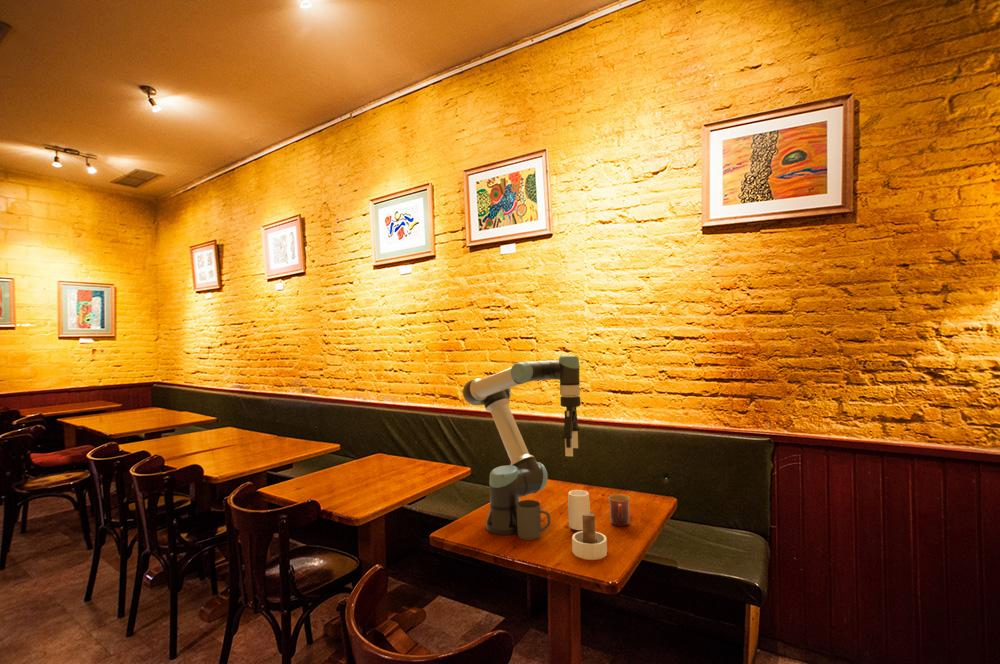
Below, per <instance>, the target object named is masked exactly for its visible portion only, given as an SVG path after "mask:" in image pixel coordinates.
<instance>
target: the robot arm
mask: <svg viewBox="0 0 1000 664" xmlns="http://www.w3.org/2000/svg"><path fill="white" fill-rule="evenodd" d="M558 359H559V360H549V359H543V360H537V361H520V362H515V363H514V364H513V365H512V366H511V367H508V368H507V369H503V370H502V371H498V372H497V373H496V372H495V373H494V374H490V375H488V376H486V377H484V378H475V379H472V380H469V381H467V382H466V383H465V385H464V386H463V388H462V396H463V399H464V400H465V401H466V403H468V404H470V405H472V406H484V408H485V410H486V412H488V413H490V414H491V416H492V419H493V421H494V423H495V427H496V429H497V432H498V434H499V436H500V438H501V441H502V444H503V446H504V449H505V451H506V453H507V456H508V458H509V460H510V464H507V465H500V466H497V467H495V468H493V469H492V470H491V471H490V472H489V480H488V481H489V482H488V484H489V505H490V506H489V507H490V508H489V510H488V515H487V518H486V523H485V524H486V525H485V526H486V530H487V531H488V532H489V533H492V534H493V535H501V536H502V535H503V536H505V535H507V536H508V535H514V534H518V531H517V503H518V502H520V498H522V497H526V496H529V495H531V494H536V493H538V492H540V491H542V490H543V489H545V487H546V485H547V484H548V483H547V481H548V471H547V469H546V467H545V465H544V464H543V463H541V462H540V461H539V462H538V461H537V460H536V457H535V456H534V455H532V454H530V452H529V450H528V447H527V445H526V443H525V441H524V438H523V436H522V433H521V432H520V430H519V427H518V425H517V422H516V420H515V417H514V415H513V413H512V410H511V408H510V406H509V404H510V401H511V400H510V398H511V395H512V393H511V392H512V391H511V388H514V387H517V386H519V385H520V386H521V385H522V384H527V383H530V382H537V381H548V380H558V381H559V395H560V398H559V399H560V400H559V401H560V406H561V407H563V408H566V409H565V411H564V426H563V435H562V439H564V450H565V451H564V452H565V454H564V455H565V457H574V449H579V434H578V433H579V432H580V427H579V425H578V424H579V421H578V414H577V408H578V407H580V406H581V396H580V395H581V391H580V390H583V389H582V387H581V384H580V383H581V382H580V367H581V366H580V360H579V359H580V358H579V356H577V355H576V354H575V355H572V354H571V355H569V354H568V355H560V356H559V358H558Z"/></svg>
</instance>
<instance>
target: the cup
mask: <svg viewBox="0 0 1000 664" xmlns="http://www.w3.org/2000/svg"><path fill="white" fill-rule="evenodd" d="M567 493H568V496H567V498H568V499H567V511H568V524H569V527H570V529H572V530H575V531H583V520H582V515H583V513H591V505H590V504H591V502H590V494H589V492H588V491H587V490H581V489H574V490H570V491H569V492H567Z"/></svg>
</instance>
